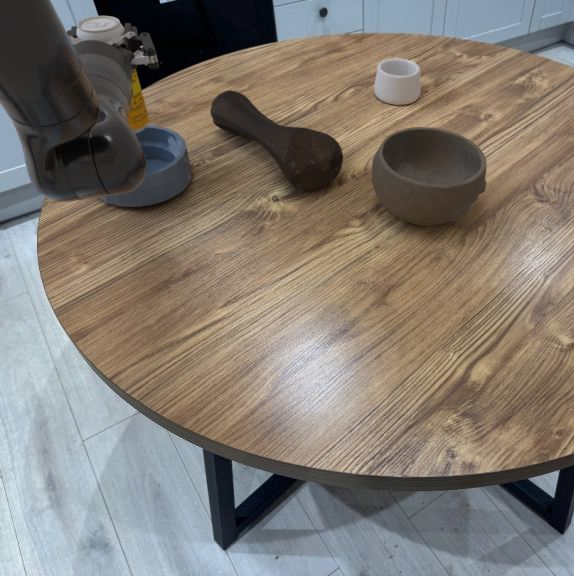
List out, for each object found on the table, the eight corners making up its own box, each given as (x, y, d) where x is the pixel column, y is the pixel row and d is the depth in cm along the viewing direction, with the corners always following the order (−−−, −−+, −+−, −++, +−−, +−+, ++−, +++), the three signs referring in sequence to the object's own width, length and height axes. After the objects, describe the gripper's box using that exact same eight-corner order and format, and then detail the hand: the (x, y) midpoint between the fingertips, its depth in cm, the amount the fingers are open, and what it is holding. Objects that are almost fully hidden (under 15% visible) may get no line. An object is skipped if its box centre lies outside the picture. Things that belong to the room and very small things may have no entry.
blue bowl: (80, 210, 88) (66, 177, 84) (110, 155, 99) (100, 123, 94) (181, 212, 89) (173, 179, 84) (201, 157, 99) (194, 126, 95)
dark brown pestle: (337, 198, 96) (242, 149, 112) (355, 137, 93) (254, 95, 108) (289, 194, 88) (192, 141, 103) (306, 127, 85) (204, 82, 100)
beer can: (147, 136, 84) (118, 31, 73) (103, 137, 83) (67, 32, 72) (153, 116, 88) (126, 14, 77) (112, 117, 87) (79, 14, 77)
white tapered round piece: (403, 111, 115) (406, 82, 110) (364, 96, 118) (365, 68, 114) (434, 90, 122) (437, 62, 118) (396, 76, 125) (398, 49, 121)
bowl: (492, 194, 96) (504, 142, 89) (454, 256, 85) (464, 201, 78) (399, 165, 101) (404, 113, 94) (351, 219, 89) (352, 165, 82)
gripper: (153, 50, 66) (152, -1, 77) (16, 59, 62) (35, 5, 74) (168, 110, 71) (164, 55, 82) (42, 122, 68) (56, 63, 79)
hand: (103, 32), depth 78 cm, fingers closed on beer can, 6 cm apart
